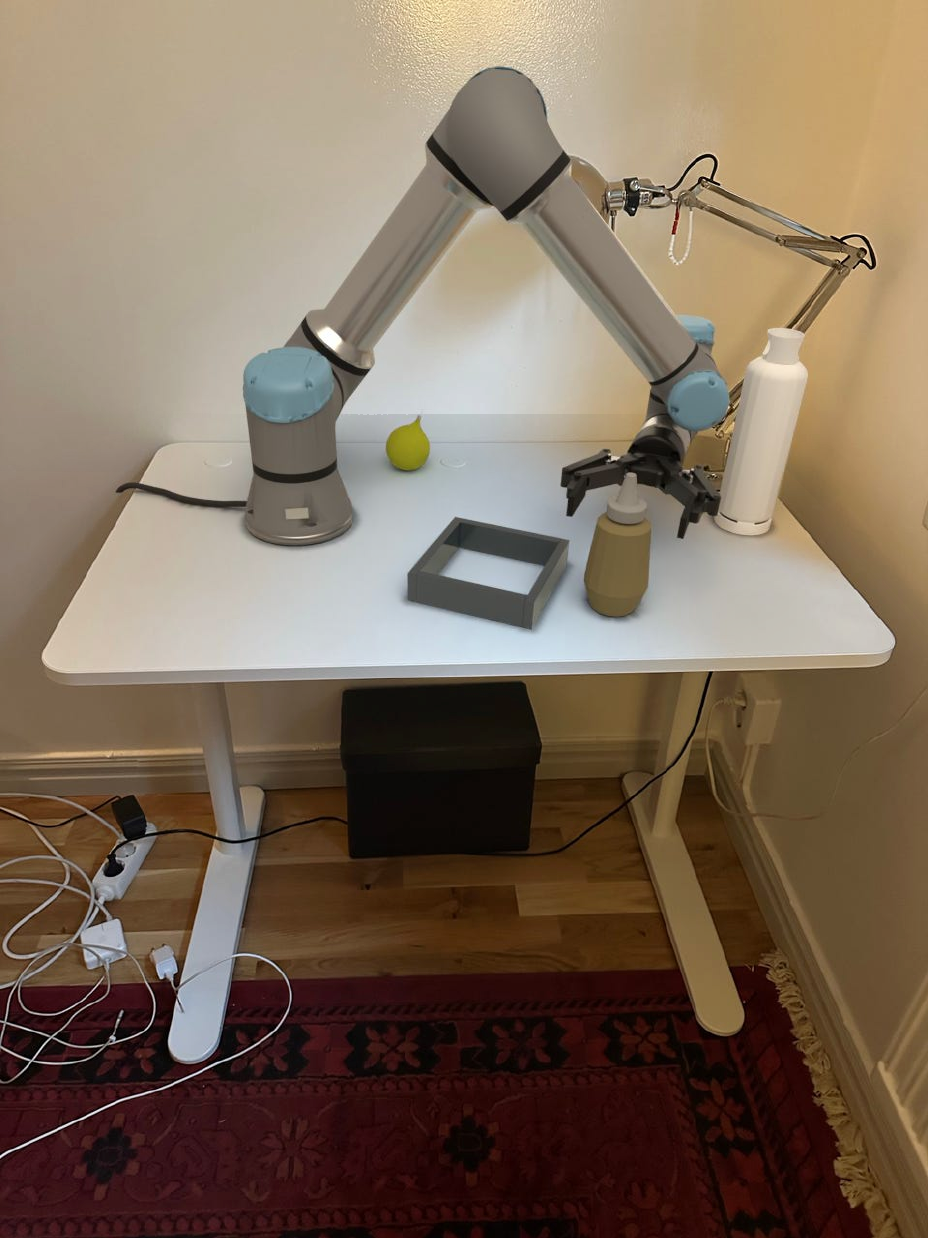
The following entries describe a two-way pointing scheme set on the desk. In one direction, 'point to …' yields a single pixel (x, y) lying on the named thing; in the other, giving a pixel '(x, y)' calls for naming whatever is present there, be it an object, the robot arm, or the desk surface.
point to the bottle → (762, 434)
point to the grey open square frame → (479, 597)
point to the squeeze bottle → (619, 554)
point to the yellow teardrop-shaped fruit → (408, 446)
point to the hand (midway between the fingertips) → (624, 517)
